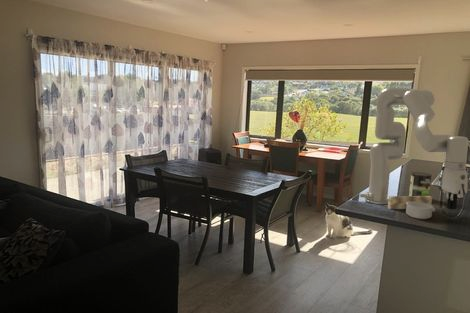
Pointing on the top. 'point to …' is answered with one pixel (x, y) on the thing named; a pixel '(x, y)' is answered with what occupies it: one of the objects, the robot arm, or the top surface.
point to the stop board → (401, 201)
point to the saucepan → (422, 210)
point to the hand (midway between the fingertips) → (451, 208)
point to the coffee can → (420, 184)
